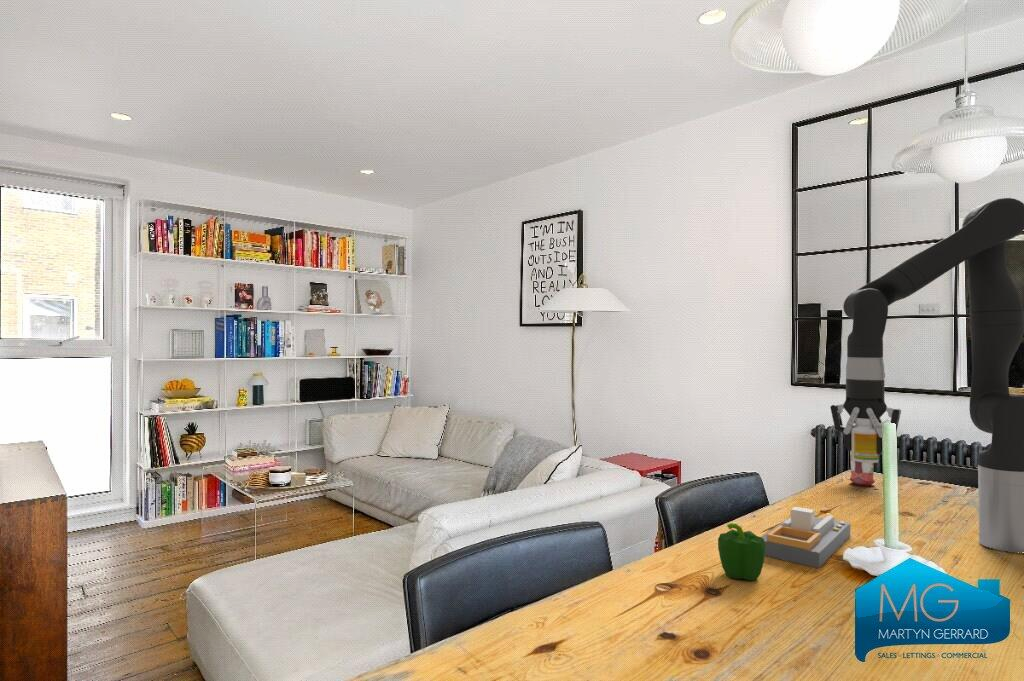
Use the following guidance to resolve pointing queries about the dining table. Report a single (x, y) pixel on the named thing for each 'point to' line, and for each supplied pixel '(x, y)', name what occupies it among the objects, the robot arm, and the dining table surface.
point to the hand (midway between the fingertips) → (864, 451)
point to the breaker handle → (802, 518)
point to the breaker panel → (806, 541)
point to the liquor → (861, 473)
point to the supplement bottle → (864, 441)
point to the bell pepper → (741, 553)
